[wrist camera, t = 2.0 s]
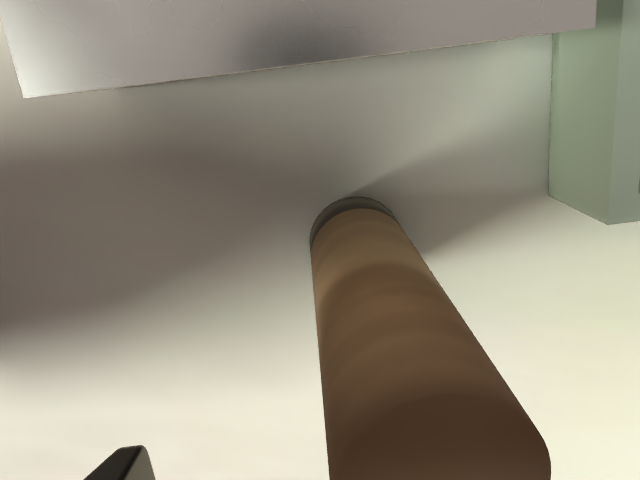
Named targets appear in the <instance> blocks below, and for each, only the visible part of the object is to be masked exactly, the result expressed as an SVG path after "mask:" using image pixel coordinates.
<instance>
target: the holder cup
mask: <svg viewBox="0 0 640 480" xmlns="http://www.w3.org/2000/svg"><path fill="white" fill-rule="evenodd" d="M548 195H549V196H551V197H553V198H555V199H557V200H559V201H561V202H563V203H565V204H567V205H569V206H571V207H573V208H575V209H577V210H579V211H581V212H583V213H585V214H587V215H589V216H591V217H593V218H595V219H597V220H599V221H601V222H603V223H605V224H607V225H610V224H618V223H626V222H634V221H640V0H597V5H596V22H595V28H590V29H583V30H576V31H568V32H561V33H554V34H553V57H552V89H551V121H550V153H549V185H548Z"/></svg>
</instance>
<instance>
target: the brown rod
mask: <svg viewBox="0 0 640 480" xmlns="http://www.w3.org/2000/svg"><path fill="white" fill-rule="evenodd" d="M310 254H311V265H312V277H313V289H314V301H315V312H316V324H317V336H318V348H319V359H320V371H321V383H322V395H323V406H324V418H325V430H326V442H327V453H328V465H329V477H330V480H550V478H551V461H550V457H549V452H548V449H547V447H546V444H545V442H544V439H543V438H542V436H541V435H540V433H539V431H538V430H537V428H536V427H535V425H534V424H533V422H532V421H531V419H530V418H529V416H528V415H527V413H526V412H525V410H524V409H523V407H522V406H521V404H520V403H519V401H518V400H517V398H516V397H515V396H514V394H513V393H512V391H511V390H510V388H509V387H508V385H507V384H506V382H505V381H504V379H503V378H502V376H501V375H500V373H499V372H498V370H497V369H496V367H495V366H494V364H493V363H492V361H491V360H490V358H489V357H488V355H487V354H486V352H485V351H484V349H483V348H482V346H481V345H480V343H479V342H478V340H477V339H476V338H475V336H474V335H473V333H472V332H471V330H470V329H469V327H468V326H467V324H466V323H465V321H464V320H463V318H462V317H461V315H460V314H459V312H458V311H457V309H456V308H455V306H454V305H453V303H452V302H451V300H450V299H449V297H448V296H447V294H446V293H445V291H444V290H443V288H442V287H441V285H440V284H439V282H438V281H437V280H436V278H435V277H434V275H433V274H432V272H431V271H430V269H429V268H428V266H427V265H426V263H425V262H424V260H423V259H422V257H421V256H420V254H419V253H418V251H417V250H416V248H415V247H414V245H413V244H412V242H411V241H410V239H409V238H408V236H407V235H406V233H405V232H404V230H403V229H402V227H401V226H400V224H399V223H398V222H397V220H396V219H395V217H394V216H393V214H392V213H391V212H390V211H389V210H388V209H387V208H386V207H385V206H384V205H382V204H381V203H379V202H377V201H375V200H372V199H369V198H364V197H350V198H345V199H342V200H339V201H337V202H334V203H333V204H331V205H329V206H328V207H327V208H326V209H324V210H323V211H322V212H321V213H320V215H319V216H318V217H317V219H316V220H315V222H314V224H313V227H312V230H311V234H310Z"/></svg>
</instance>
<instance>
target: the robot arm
mask: <svg viewBox="0 0 640 480" xmlns="http://www.w3.org/2000/svg"><path fill="white" fill-rule="evenodd" d="M84 480H156V479H155V476H154V472H153V469H152V465H151V462H150V458H149V455H148V452H147V449H146V448H145V447H144V446H142V445H137V446H130V447H122V448H119V449H118V450H116V451H115V452H114V453H113V454H112V455H110V456H109V457H108V458H107V459H106V460H105V461H104V462H103V463H102V464H100V465H99V466H98V467H97V468H96V469H95V470H94V471H93V472H92V473H90V474H89V475H88V476H87V477H86V478H85V479H84Z"/></svg>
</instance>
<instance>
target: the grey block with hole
mask: <svg viewBox="0 0 640 480" xmlns="http://www.w3.org/2000/svg"><path fill="white" fill-rule="evenodd" d="M596 5H597V0H0V20H1V23H2V26H3V30H4V33H5V36H6V40H7V43H8V46H9V50H10V53H11V57H12V60H13V63H14V67H15V70H16V73H17V77H18V80H19V83H20V87H21V90H22V94H23V97H24V98H33V97H42V96H51V95H60V94H69V93H78V92H87V91H96V90H105V89H114V88H122V87H131V86H139V85H147V84H155V83H163V82H171V81H179V80H187V79H195V78H203V77H211V76H219V75H228V74H236V73H244V72H252V71H260V70H268V69H276V68H284V67H292V66H300V65H308V64H317V63H325V62H333V61H341V60H349V59H357V58H365V57H373V56H381V55H389V54H397V53H405V52H414V51H422V50H430V49H438V48H446V47H454V46H462V45H470V44H478V43H486V42H494V41H502V40H509V39H517V38H524V37H531V36H539V35H546V34H554V33H561V32H568V31H576V30H583V29H590V28H595V22H596Z"/></svg>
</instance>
